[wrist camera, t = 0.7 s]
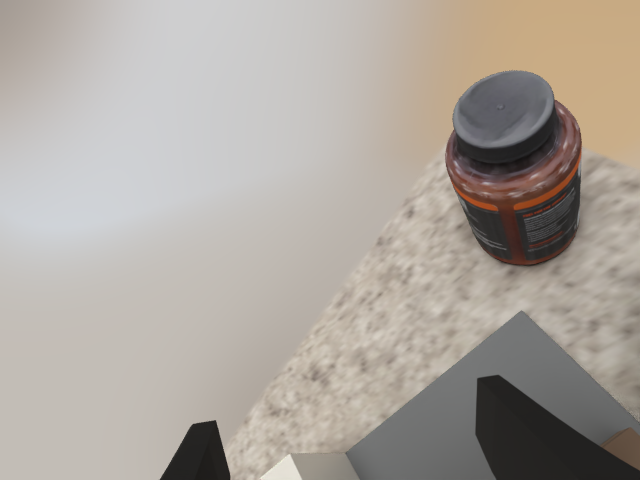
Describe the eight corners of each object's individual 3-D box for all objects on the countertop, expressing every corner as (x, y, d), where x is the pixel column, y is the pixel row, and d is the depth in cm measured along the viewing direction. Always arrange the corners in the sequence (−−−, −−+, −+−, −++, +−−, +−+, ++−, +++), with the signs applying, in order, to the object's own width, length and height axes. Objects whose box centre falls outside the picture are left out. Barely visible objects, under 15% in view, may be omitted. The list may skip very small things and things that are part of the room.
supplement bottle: (599, 202, 25) (618, 61, 16) (546, 285, 24) (535, 189, 15) (503, 170, 29) (475, 41, 20) (456, 242, 28) (404, 144, 19)
